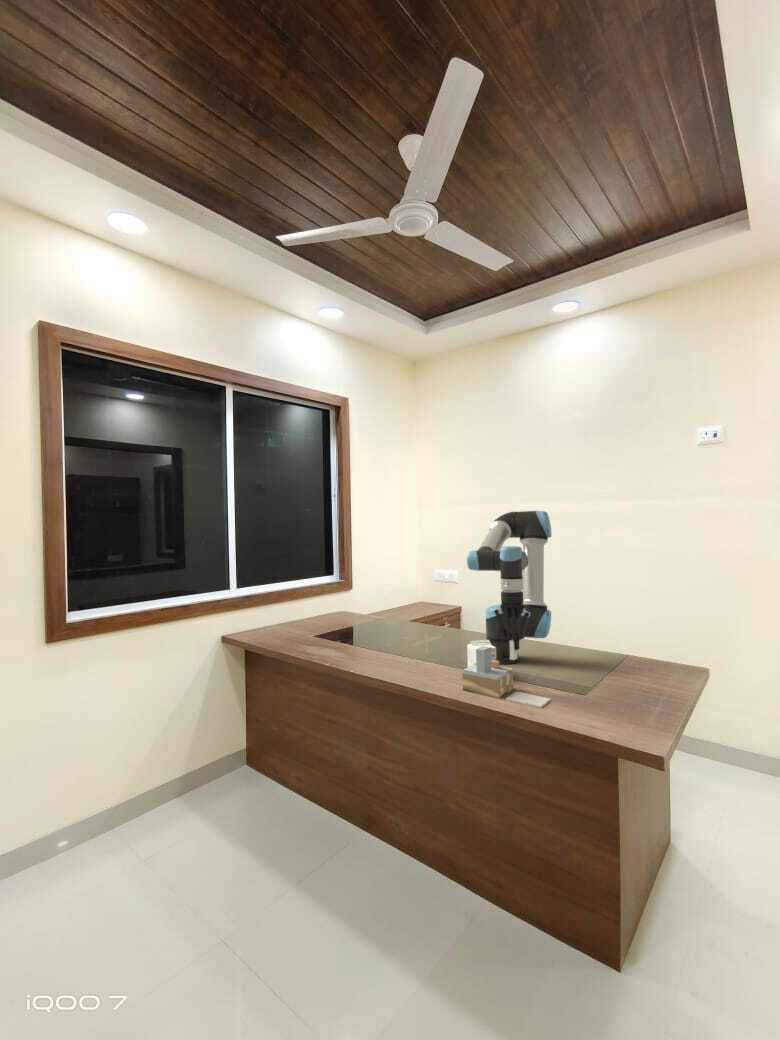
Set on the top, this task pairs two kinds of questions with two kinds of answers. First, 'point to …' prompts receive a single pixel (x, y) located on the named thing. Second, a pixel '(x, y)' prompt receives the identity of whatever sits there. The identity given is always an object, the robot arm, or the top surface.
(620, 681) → the top surface
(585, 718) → the top surface
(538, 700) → the mat
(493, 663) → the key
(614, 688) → the top surface
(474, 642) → the ink box
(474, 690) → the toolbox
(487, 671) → the lid
